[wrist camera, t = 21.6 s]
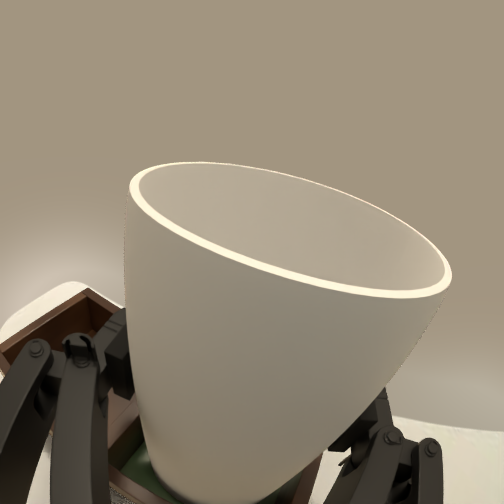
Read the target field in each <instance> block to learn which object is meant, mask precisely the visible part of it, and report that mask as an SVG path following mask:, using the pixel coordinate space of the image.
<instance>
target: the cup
mask: <svg viewBox="0 0 504 504" xmlns="http://www.w3.org/2000/svg"><path fill="white" fill-rule="evenodd" d="M124 239H125V241H124V277H125V278H124V279H125V305H126V320H127V332H128V342H129V352H130V360H131V367H132V375H133V381H134V388H135V393H136V399H137V405H138V410H139V415H140V420H141V424H142V429H143V433H144V438H145V442H146V446H147V450H148V454H149V457H150V461H151V465H152V468H153V471H154V473H155V475H156V477H157V479H158V481H159V482H160V484H161V485H162V486H163V487H164V489H165V490H166V491H167V492H168V493H169V494H171V495H172V496H173V497H174V498H176V499H177V500H179V501H180V502H182V503H184V504H256V503H258V502H259V501H261V500H262V499H264V498H265V497H267V496H268V495H269V494H271V493H272V492H274V491H275V490H276V489H278V488H279V487H281V486H282V485H283V484H285V483H286V482H287V481H289V480H290V479H291V478H293V477H294V476H295V475H296V474H298V473H299V472H300V471H301V470H303V469H304V468H305V467H306V466H307V465H309V464H310V463H311V462H312V461H313V460H314V459H316V458H317V457H318V456H319V455H320V454H321V453H322V452H323V451H325V450H326V449H327V448H328V447H329V446H330V445H331V444H332V443H333V442H334V441H335V440H336V439H337V438H338V437H339V436H340V435H341V434H342V433H343V432H344V431H345V430H346V429H347V428H348V427H349V426H350V425H351V424H352V423H353V422H354V421H355V420H356V419H357V418H358V417H359V416H360V415H361V414H362V413H363V412H364V410H365V409H366V408H367V407H368V406H369V405H370V404H371V403H372V401H373V400H374V399H375V398H376V397H377V396H378V394H379V393H380V392H381V391H382V390H383V388H384V387H385V386H386V385H387V383H388V382H389V381H390V380H391V378H392V377H393V376H394V375H395V373H396V372H397V371H398V369H399V368H400V367H401V365H402V364H403V363H404V361H405V360H406V358H407V357H408V355H409V354H410V353H411V351H412V350H413V348H414V347H415V345H416V344H417V342H418V341H419V339H420V338H421V336H422V335H423V333H424V332H425V330H426V329H427V327H428V325H429V324H430V322H431V320H432V319H433V317H434V315H435V314H436V312H437V310H438V308H439V307H440V305H441V303H442V301H443V299H444V297H445V295H446V292H447V290H448V287H449V284H450V282H451V279H452V272H451V268H450V266H449V263H448V262H447V260H446V258H445V257H444V256H443V254H442V253H441V252H440V251H439V250H438V249H437V247H435V246H434V245H433V244H432V243H431V242H430V241H429V240H428V239H427V238H425V237H424V236H423V235H422V234H420V233H419V232H418V231H416V230H415V229H414V228H412V227H411V226H409V225H408V224H406V223H405V222H403V221H401V220H400V219H398V218H396V217H395V216H393V215H391V214H389V213H388V212H386V211H384V210H382V209H380V208H378V207H376V206H374V205H372V204H370V203H368V202H365V201H363V200H361V199H358V198H356V197H354V196H352V195H349V194H347V193H344V192H342V191H339V190H336V189H334V188H331V187H328V186H325V185H322V184H319V183H316V182H313V181H309V180H306V179H302V178H299V177H295V176H292V175H288V174H283V173H279V172H274V171H270V170H265V169H260V168H254V167H248V166H241V165H234V164H225V163H224V164H223V163H211V162H180V163H170V164H163V165H158V166H154V167H151V168H148V169H145V170H143V171H141V172H139V173H138V174H137V175H135V176H134V177H133V179H132V180H131V182H130V185H129V190H128V195H127V201H126V213H125V238H124Z"/></svg>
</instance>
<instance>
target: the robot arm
mask: <svg viewBox="0 0 504 504" xmlns="http://www.w3.org/2000/svg"><path fill="white" fill-rule="evenodd" d="M61 344H62V347H63V350H64V352H60V351H55V350H51V347H50V345H49V344H48V342H47V341H45V340H43V339H39V338H38V339H32V340H30V341H28V342H27V343H26V344H25V346H24V347H23V348H22V350H21V351H20V353H19V354H18V356H17V357H16V359H15V361H14V362H13V364H12V365H11V367H10V368H9V370H8V372H7V373H6V375H5V377H4V378H3V380H2V382H1V383H0V504H26V502H27V498H28V494H29V491H30V487H31V484H32V480H33V477H34V474H35V471H36V467H37V464H38V461H39V458H40V456H41V453H42V450H43V447H44V445H45V442H46V439H47V437H48V434H49V431H50V429H51V426H52V424H53V422H54V429H53V438H52V449H51V465H50V504H111V499H110V488H109V473H108V403H109V398H108V392H109V391H110V389H111V388H113V392H114V394H116V395H118V396H120V397H122V398H124V399H126V400H129V401H130V400H131V398H132V396H133V395H134V393H135V388H134V381H133V375H132V367H131V360H130V352H129V342H128V332H127V320H126V308H122V309H120V310H118V311H117V312H115V313H114V314H113V315H112V316H111V317H110V318H109V320H108V321H107V322H106V323H105V324H104V326H103V327H102V328H101V329H100V330H99V331H98V332H97V333H96V335H95V336H94V337H93V338H91V337H90V336H88V335H87V334H84V333H73V334H70V335H68V336H67V337H65V338H64V339H63V341H62V343H61ZM387 398H388V397H387V393H386V388H385V387H384V388H383V390H382V391H381V392H380V393H379V394H378V396H377V397H376V398H375V399H374V400H373V401H372V403H371V404H370V405H369V406H368V407H367V408H366V409H365V410H364V412H363V413H362V414H361V415H360V416H359V417H358V418H357V419H356V420H355V421H354V422H353V423H352V424H351V425H350V426H349V427H348V428H347V429H346V430H345V431H344V432H343V433H342V434H341V435H340V436H339V437H338V438H337V439H336V440H335V441H334V442H333V443H332V444H331V445H330V446H329V447H328V451H332V452H345V451H346V450H347V449H349V448H350V447H351V454H350V455H349V456H348V457H347V458H345V459H344V460H343V461H341V462H340V464H339V465H338V466H341V465H343V464H344V465H343V467H342V469H341V471H340V473H339V475H338V477H337V479H336V481H335V483H334V485H333V487H332V489H331V491H330V492H329V494H328V496H327V498H326V500H325V501H324V503H323V504H443V461H442V450H441V446H440V444H439V443H438V442H437V441H436V440H435V439H433V438H425V439H423V440H422V441H421V442H419V443H418V442H414V441H411V440H408V439H405V438H404V436H403V434H402V432H401V431H400V430H399V429H398V428H396V427H395V426H394V425H393V421H392V416H391V411H390V406H389V401H388V400H387ZM54 419H55V421H54Z"/></svg>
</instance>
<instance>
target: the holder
mask: <svg viewBox="0 0 504 504" xmlns="http://www.w3.org/2000/svg"><path fill="white" fill-rule="evenodd" d="M118 310H120V308H119V307H117V306H115V305H114V304H112V303H111V302H109V301H108V300H106V299H104V298H103V297H101V296H100V295H98V294H97V293H95V292H94V291H92V290H91V289H89V288H86V289H85V290H83V291H81V292H80V293H78V294H77V295H75V296H73V297H72V298H70V299H69V300H67V301H65V302H64V303H62V304H60V305H59V306H57V307H56V308H54V309H53V310H51V311H49V312H48V313H46V314H45V315H43V316H42V317H40V318H38V319H37V320H35V321H34V322H32V323H31V324H29V325H28V326H26V327H25V328H23V329H22V330H20V331H19V332H17V333H16V334H14V335H13V336H11V337H10V338H9V339H7V340H6V341H4V342H3V343H1V344H0V372H1V374H2V375H3V377H5V375H6V373H7V372H8V370H9V368H10V367H11V365H12V364H13V362H14V361H15V359H16V357H17V356H18V354H19V353H20V351H21V350H22V348H23V347H24V346H25V344H26V343H27V342H28V341H30V340H32V339H38V338H39V339H43V340H45V341H47V342H48V344H49V345H50V347H51V350H55V351H60V352H64V350H63V347H62V344H61V343H62V341H63V339H64V338H65V337H67V336H68V335H70V334H73V333H84V334H87V335H88V336H90V337H91V338H93V337H94V336H95V335H96V333H97V332H98V331H99V330H100V329H101V328H102V327H103V326H104V324H105V323H106V322H107V321H108V320H109V318H110V317H111V316H112V315H113V314H114V313H115V312H117V311H118ZM108 398H109V403H108V473H109V486H110V487H111V488H113V489H114V490H115V491H117V492H118V493H120V494H121V495H123V496H124V497H126V498H127V499H129V500H130V501H132V502H133V503H135V504H184V503H182V502H180V501H179V500H177V499H176V498H174V497H173V496H172V495H171V494H169V493H168V492H167V491H166V490H165V489H164V487H163V486H162V485H161V484H160V482H159V481H158V479H157V477H156V475H155V473H154V471H153V468H152V465H151V461H150V457H149V454H148V450H147V446H146V442H145V438H144V433H143V429H142V424H141V420H140V415H139V410H138V405H137V399H136V393H134V395H133V396H132V398H131V400H130V401H129V400H126V399H124V398H122V397H120V396H118V395H116V394H114V392H113V388H111V389H110V391H109V392H108ZM54 421H55V419H54ZM53 429H54V422H53V424H52V426H51V429H50V431H49V434H50V435H51V436H52V437H53ZM322 455H323V452H322V453H321V454H320V455H319V456H318V457H317V458H316V459H314V460H313V461H312V462H311V463H310V464H309V465H307V466H306V467H305V468H304V469H303V470H301V471H300V472H299V473H298V474H296V475H295V476H294V477H293V478H291V479H290V480H289V481H287V482H286V483H285V484H283V485H282V486H281V487H279V488H278V489H276V490H275V491H274V492H272V493H271V494H269V495H268V496H267V497H265V498H264V499H262V500H261V501H259V502H258V503H256V504H308V502H309V499H310V496H311V493H312V490H313V486H314V483H315V480H316V477H317V473H318V470H319V466H320V462H321V459H322Z"/></svg>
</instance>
